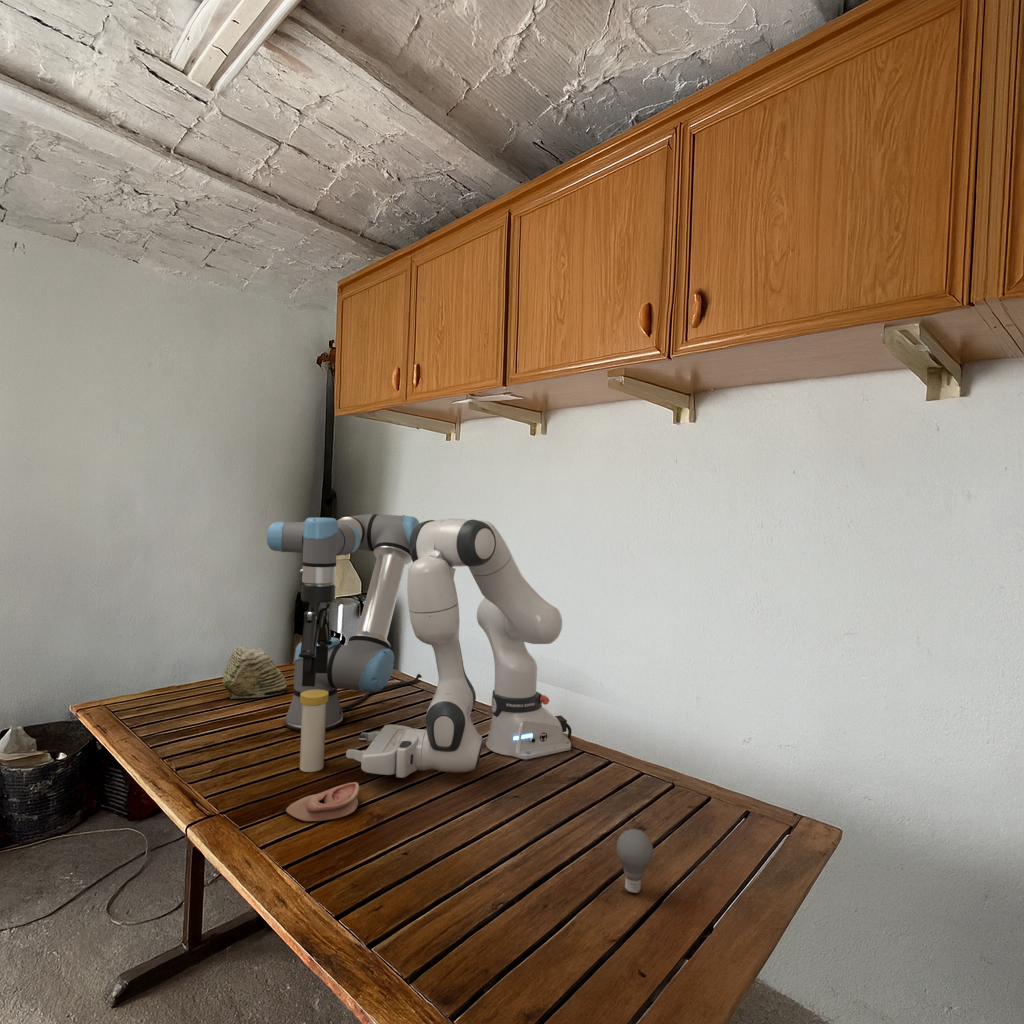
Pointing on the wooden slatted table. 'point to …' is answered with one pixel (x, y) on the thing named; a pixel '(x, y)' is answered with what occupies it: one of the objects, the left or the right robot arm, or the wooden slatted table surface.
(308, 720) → the jar
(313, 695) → the lid
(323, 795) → the anatomical model
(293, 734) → the wooden slatted table surface
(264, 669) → the fossil
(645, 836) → the light bulb
